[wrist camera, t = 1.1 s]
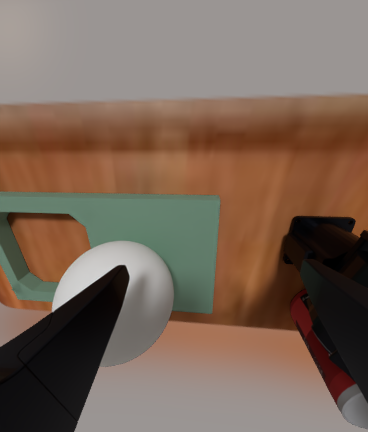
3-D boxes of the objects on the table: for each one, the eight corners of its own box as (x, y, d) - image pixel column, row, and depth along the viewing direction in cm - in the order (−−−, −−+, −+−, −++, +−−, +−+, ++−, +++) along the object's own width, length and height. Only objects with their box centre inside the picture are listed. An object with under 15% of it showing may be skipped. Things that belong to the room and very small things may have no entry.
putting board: (218, 195, 21) (220, 200, 19) (211, 302, 27) (212, 313, 25) (-18, 191, 23) (-36, 195, 21) (27, 289, 30) (16, 299, 28)
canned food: (356, 286, 24) (472, 393, 14) (333, 326, 27) (412, 438, 17) (298, 279, 24) (367, 378, 14) (281, 319, 27) (328, 424, 17)
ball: (178, 224, 20) (156, 306, 10) (180, 296, 25) (165, 403, 14) (88, 221, 21) (-14, 293, 11) (104, 290, 26) (41, 388, 15)
